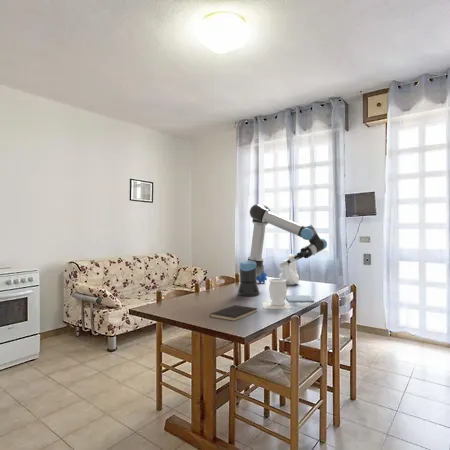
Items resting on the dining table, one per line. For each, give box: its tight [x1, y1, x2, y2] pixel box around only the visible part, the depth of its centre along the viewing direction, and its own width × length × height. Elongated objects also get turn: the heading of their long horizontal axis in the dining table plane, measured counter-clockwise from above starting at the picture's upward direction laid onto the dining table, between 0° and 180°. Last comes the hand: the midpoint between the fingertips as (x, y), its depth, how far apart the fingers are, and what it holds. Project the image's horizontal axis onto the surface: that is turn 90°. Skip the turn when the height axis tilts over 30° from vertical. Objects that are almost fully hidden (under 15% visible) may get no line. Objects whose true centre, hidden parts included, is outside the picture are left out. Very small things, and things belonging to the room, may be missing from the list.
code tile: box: [261, 301, 292, 310], centre depth 203 cm, size 16×16×1 cm
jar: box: [268, 278, 287, 306], centre depth 205 cm, size 11×10×15 cm
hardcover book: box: [210, 304, 258, 321], centre depth 185 cm, size 16×23×2 cm
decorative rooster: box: [278, 253, 300, 286], centre depth 276 cm, size 25×16×25 cm, turn 138°
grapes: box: [256, 270, 268, 284], centre depth 285 cm, size 12×7×12 cm, turn 66°
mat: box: [285, 294, 315, 303], centre depth 219 cm, size 16×16×1 cm
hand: (285, 263), depth 218 cm, fingers open, 13 cm apart
